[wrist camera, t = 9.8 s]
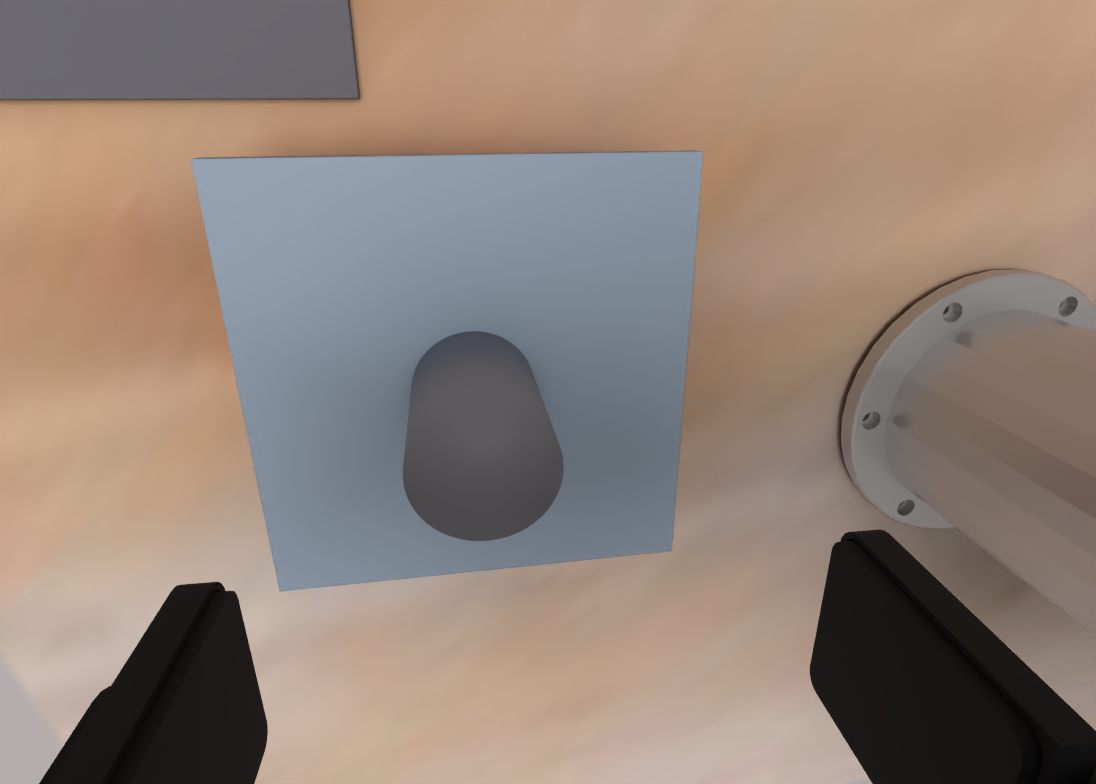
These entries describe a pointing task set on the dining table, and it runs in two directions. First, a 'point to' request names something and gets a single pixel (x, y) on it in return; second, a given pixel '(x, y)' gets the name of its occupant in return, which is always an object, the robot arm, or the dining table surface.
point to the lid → (457, 353)
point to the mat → (177, 49)
